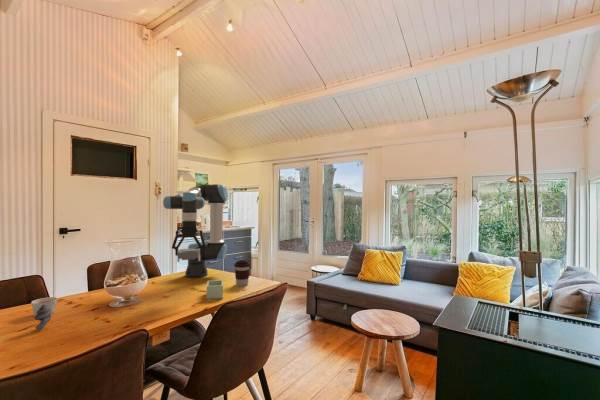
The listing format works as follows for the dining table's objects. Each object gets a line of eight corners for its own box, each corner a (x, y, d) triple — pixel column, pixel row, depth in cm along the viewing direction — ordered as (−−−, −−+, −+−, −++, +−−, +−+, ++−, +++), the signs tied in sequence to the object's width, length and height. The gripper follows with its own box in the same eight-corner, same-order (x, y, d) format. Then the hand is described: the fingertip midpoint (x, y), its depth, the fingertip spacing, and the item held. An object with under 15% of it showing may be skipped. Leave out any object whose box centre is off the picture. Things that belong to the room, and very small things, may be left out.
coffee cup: (248, 287, 181) (248, 262, 181) (232, 286, 181) (232, 262, 181) (251, 282, 191) (251, 259, 191) (236, 282, 191) (236, 259, 191)
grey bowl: (60, 312, 137) (60, 299, 137) (35, 319, 129) (36, 304, 129) (52, 309, 141) (52, 296, 141) (27, 315, 133) (28, 301, 134)
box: (207, 293, 168) (207, 280, 168) (222, 292, 170) (222, 279, 171) (206, 299, 157) (206, 286, 157) (222, 298, 159) (222, 285, 159)
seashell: (33, 329, 119) (34, 304, 119) (51, 325, 123) (51, 301, 123) (34, 333, 115) (35, 307, 115) (52, 329, 119) (52, 304, 119)
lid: (180, 256, 166) (180, 248, 166) (199, 255, 169) (199, 247, 169) (177, 260, 154) (177, 252, 154) (197, 259, 156) (198, 251, 156)
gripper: (165, 221, 155) (165, 263, 155) (210, 220, 161) (210, 261, 161) (168, 220, 162) (167, 260, 162) (211, 219, 168) (210, 258, 168)
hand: (188, 261), depth 161 cm, fingers closed on lid, 10 cm apart
